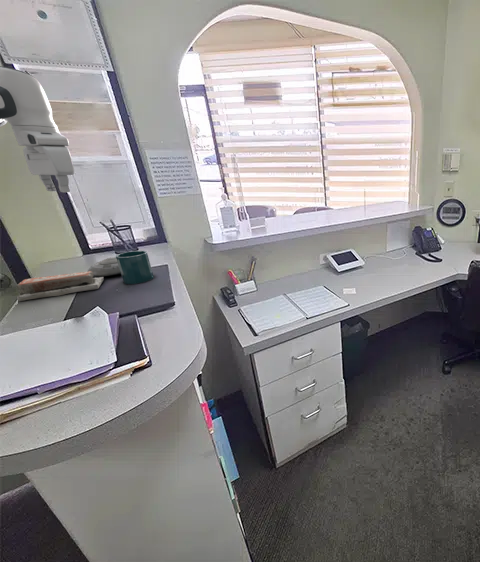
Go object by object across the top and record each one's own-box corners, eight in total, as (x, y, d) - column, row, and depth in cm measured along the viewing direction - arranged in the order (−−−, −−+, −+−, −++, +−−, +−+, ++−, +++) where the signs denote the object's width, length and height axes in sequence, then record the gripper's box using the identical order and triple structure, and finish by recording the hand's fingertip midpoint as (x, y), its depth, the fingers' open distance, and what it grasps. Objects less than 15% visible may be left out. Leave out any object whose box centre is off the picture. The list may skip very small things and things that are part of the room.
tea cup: (131, 285, 99) (123, 258, 96) (119, 281, 103) (110, 255, 99) (158, 277, 106) (151, 252, 103) (145, 274, 109) (138, 249, 106)
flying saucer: (119, 279, 104) (114, 264, 102) (76, 279, 105) (70, 264, 103) (150, 265, 118) (146, 252, 116) (112, 265, 119) (107, 252, 117)
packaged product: (10, 286, 86) (23, 276, 93) (17, 302, 87) (30, 291, 95) (94, 274, 94) (100, 266, 102) (99, 289, 96) (104, 280, 104)
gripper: (9, 140, 86) (29, 191, 91) (38, 136, 77) (58, 193, 82) (40, 141, 92) (58, 189, 97) (70, 138, 82) (88, 192, 87)
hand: (58, 191), depth 89 cm, fingers open, 8 cm apart
